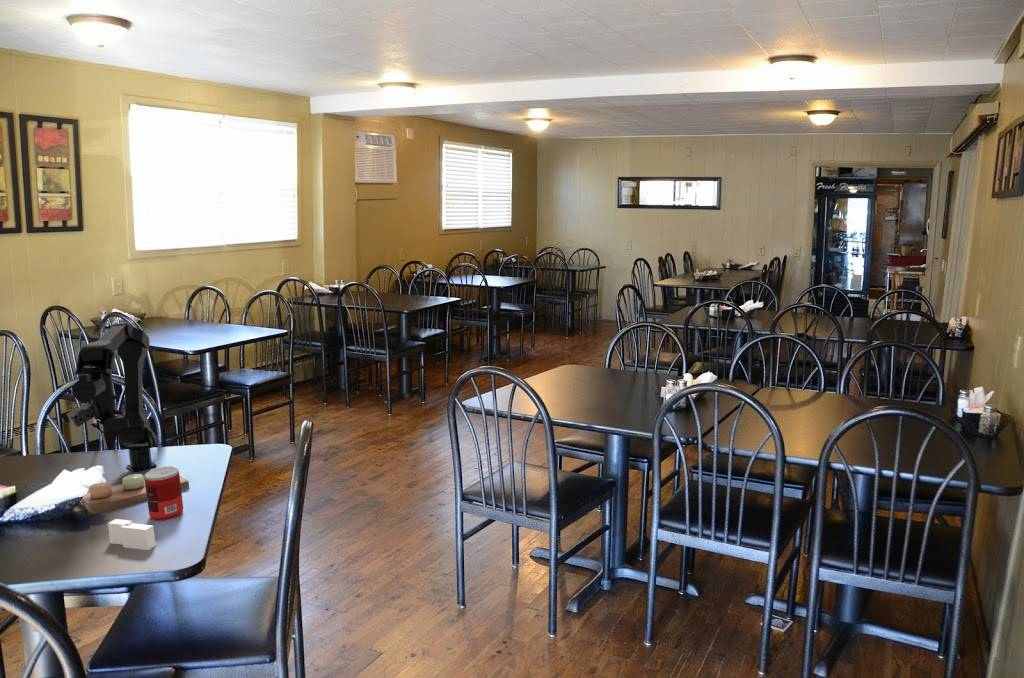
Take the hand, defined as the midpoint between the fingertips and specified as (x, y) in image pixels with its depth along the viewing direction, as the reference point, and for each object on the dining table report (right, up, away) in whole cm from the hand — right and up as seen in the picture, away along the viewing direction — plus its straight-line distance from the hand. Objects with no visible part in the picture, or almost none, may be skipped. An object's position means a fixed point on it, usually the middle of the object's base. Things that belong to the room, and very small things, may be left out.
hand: (109, 449), depth 213 cm
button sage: (+7, -10, -1) cm, 12 cm away
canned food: (+21, -14, -14) cm, 29 cm away
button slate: (+12, -9, +5) cm, 16 cm away
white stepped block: (+20, -18, -30) cm, 40 cm away
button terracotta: (+1, -11, -6) cm, 13 cm away
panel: (+7, -12, 0) cm, 14 cm away
